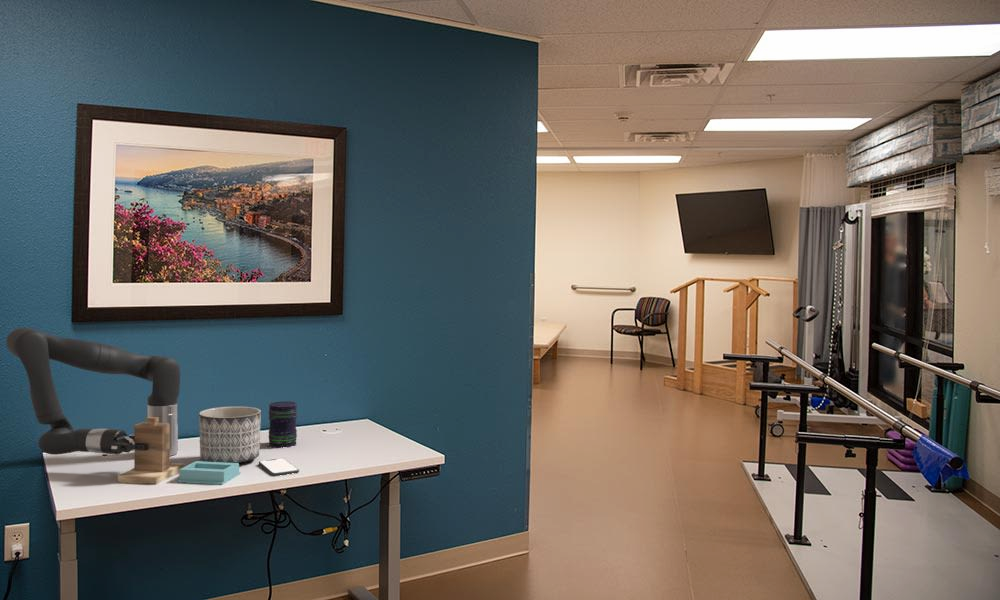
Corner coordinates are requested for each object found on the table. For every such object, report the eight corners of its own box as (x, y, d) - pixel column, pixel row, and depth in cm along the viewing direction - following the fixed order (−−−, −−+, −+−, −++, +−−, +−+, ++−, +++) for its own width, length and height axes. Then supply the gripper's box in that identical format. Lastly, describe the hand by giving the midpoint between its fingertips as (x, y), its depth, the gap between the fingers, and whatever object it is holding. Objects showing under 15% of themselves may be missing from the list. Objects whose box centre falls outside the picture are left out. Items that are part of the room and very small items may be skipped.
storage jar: (280, 440, 285) (280, 400, 284) (302, 443, 281) (302, 402, 281) (262, 446, 276) (262, 404, 275) (285, 449, 272) (285, 407, 272)
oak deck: (148, 468, 244) (148, 461, 244) (184, 469, 243) (184, 463, 243) (117, 482, 228) (117, 475, 228) (156, 484, 227) (156, 477, 227)
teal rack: (197, 471, 241) (197, 460, 241) (240, 473, 240) (240, 462, 240) (177, 482, 229) (177, 470, 229) (222, 484, 228) (222, 472, 228)
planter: (187, 461, 253) (187, 412, 252) (238, 451, 268) (238, 404, 267) (220, 472, 241) (221, 420, 240) (272, 460, 256) (272, 411, 256)
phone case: (300, 475, 242) (284, 462, 256) (300, 470, 242) (284, 457, 256) (272, 478, 237) (257, 465, 251) (272, 473, 237) (257, 461, 251)
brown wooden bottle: (141, 467, 238) (141, 415, 237) (169, 468, 237) (169, 417, 236) (134, 470, 234) (134, 418, 233) (162, 471, 233) (162, 419, 232)
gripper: (91, 434, 229) (142, 436, 227) (120, 424, 243) (168, 426, 242) (91, 459, 230) (142, 461, 228) (120, 447, 244) (168, 450, 242)
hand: (156, 443), depth 235 cm, fingers open, 8 cm apart
